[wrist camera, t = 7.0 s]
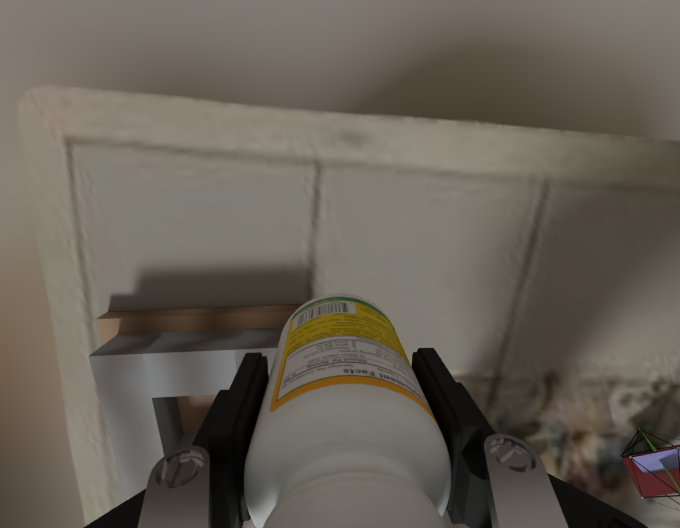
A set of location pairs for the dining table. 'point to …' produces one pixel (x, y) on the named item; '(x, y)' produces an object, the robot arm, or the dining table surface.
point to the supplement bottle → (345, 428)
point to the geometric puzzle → (655, 470)
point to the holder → (172, 374)
